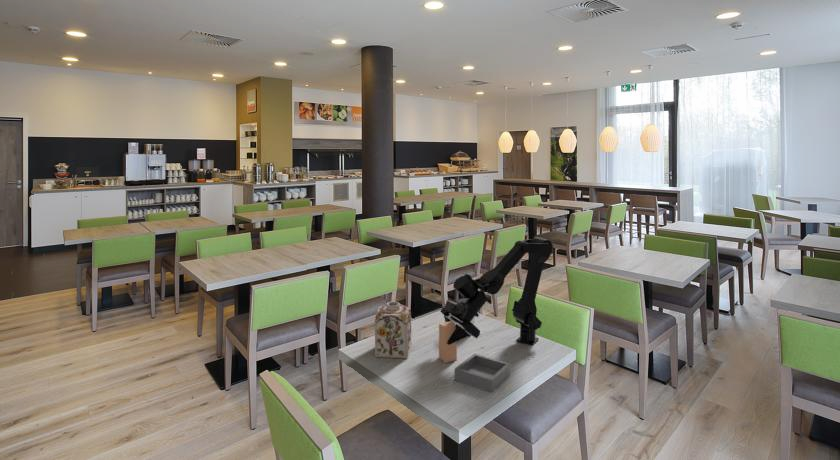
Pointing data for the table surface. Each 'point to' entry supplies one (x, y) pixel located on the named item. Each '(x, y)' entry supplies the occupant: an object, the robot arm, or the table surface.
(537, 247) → the robot arm
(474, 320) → the jar
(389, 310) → the decorative jar
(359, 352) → the table surface
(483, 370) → the box
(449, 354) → the terracotta block
